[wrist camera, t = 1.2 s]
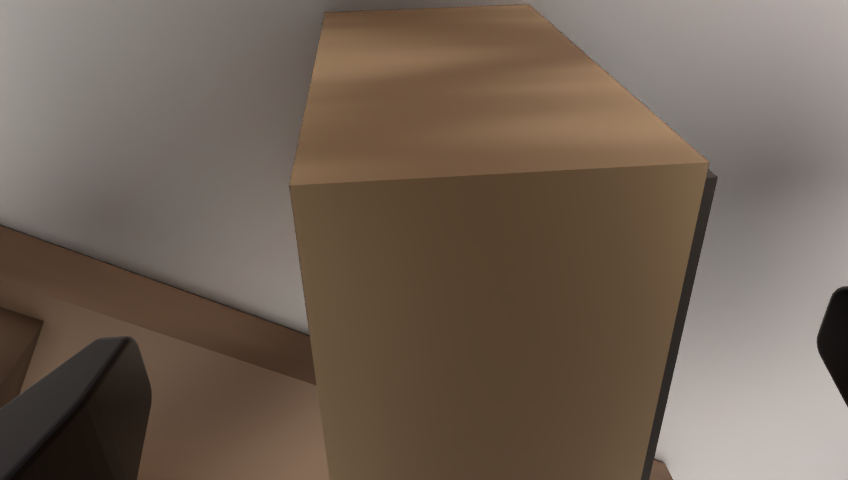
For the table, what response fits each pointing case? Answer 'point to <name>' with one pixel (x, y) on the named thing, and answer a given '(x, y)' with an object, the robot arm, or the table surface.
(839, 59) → the table surface
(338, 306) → the tan wooden block
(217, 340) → the rail
